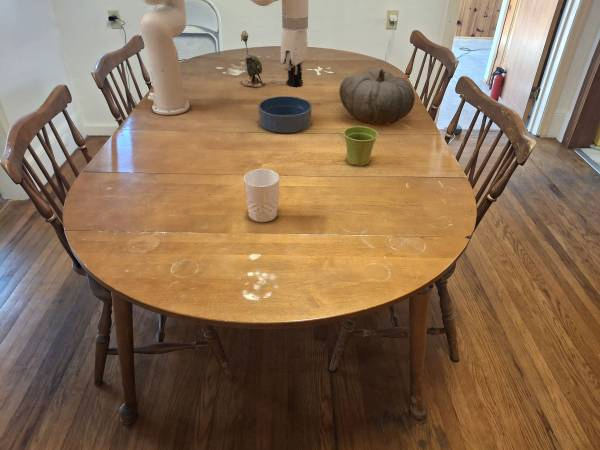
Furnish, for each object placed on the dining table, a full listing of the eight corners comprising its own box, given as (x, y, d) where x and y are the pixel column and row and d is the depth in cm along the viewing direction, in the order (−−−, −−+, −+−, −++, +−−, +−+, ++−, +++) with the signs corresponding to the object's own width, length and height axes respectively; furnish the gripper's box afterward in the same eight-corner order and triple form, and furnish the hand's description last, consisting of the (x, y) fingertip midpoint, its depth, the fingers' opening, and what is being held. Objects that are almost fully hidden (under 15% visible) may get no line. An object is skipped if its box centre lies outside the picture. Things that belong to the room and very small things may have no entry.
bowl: (249, 128, 148) (248, 110, 144) (273, 109, 161) (273, 93, 157) (298, 138, 142) (298, 120, 139) (319, 118, 155) (319, 101, 152)
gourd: (326, 119, 148) (337, 63, 140) (342, 104, 169) (353, 55, 161) (403, 138, 143) (419, 81, 135) (409, 120, 165) (424, 71, 157)
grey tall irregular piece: (249, 91, 176) (247, 36, 164) (238, 82, 184) (235, 29, 172) (269, 88, 179) (267, 33, 167) (257, 79, 187) (255, 26, 175)
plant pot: (352, 172, 126) (355, 143, 121) (335, 157, 132) (337, 129, 127) (381, 165, 129) (384, 136, 124) (362, 151, 136) (365, 123, 131)
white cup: (246, 205, 112) (244, 169, 106) (279, 204, 112) (278, 168, 106) (246, 224, 105) (243, 186, 99) (280, 223, 106) (280, 185, 100)
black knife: (303, 85, 144) (303, 79, 143) (300, 87, 143) (300, 82, 142) (271, 80, 148) (271, 75, 147) (268, 82, 146) (268, 77, 145)
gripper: (294, 16, 141) (294, 76, 151) (271, 27, 129) (272, 91, 140) (317, 18, 138) (315, 79, 149) (295, 30, 127) (295, 95, 137)
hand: (295, 85), depth 144 cm, fingers closed on black knife, 1 cm apart
